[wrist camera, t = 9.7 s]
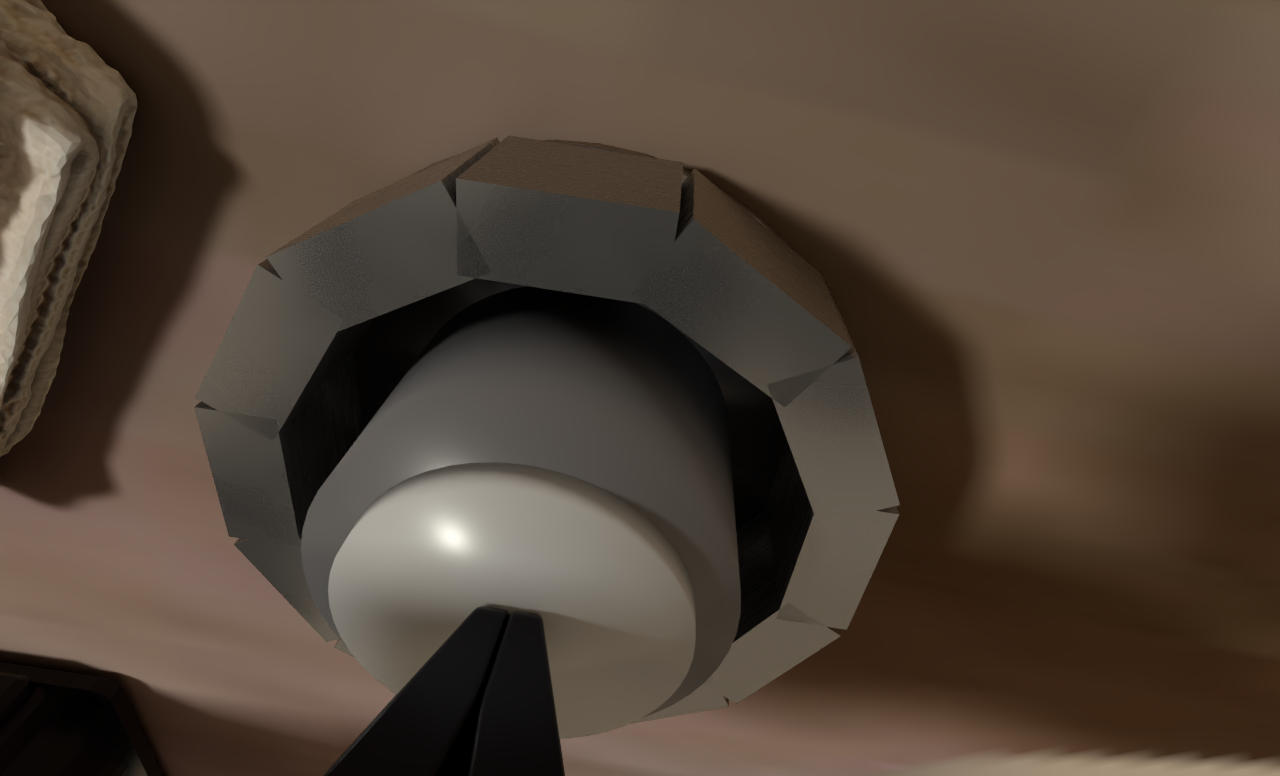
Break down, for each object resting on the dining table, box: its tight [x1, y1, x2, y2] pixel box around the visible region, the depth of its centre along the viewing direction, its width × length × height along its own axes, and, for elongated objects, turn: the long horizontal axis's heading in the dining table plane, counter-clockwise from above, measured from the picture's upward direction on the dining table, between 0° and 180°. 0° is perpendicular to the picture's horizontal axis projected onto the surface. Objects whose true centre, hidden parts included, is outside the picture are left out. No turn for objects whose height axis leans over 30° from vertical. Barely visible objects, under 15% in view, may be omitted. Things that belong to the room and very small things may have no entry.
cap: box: [301, 286, 741, 739], centre depth 11 cm, size 6×6×4 cm
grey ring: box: [195, 136, 900, 724], centre depth 12 cm, size 10×10×3 cm
